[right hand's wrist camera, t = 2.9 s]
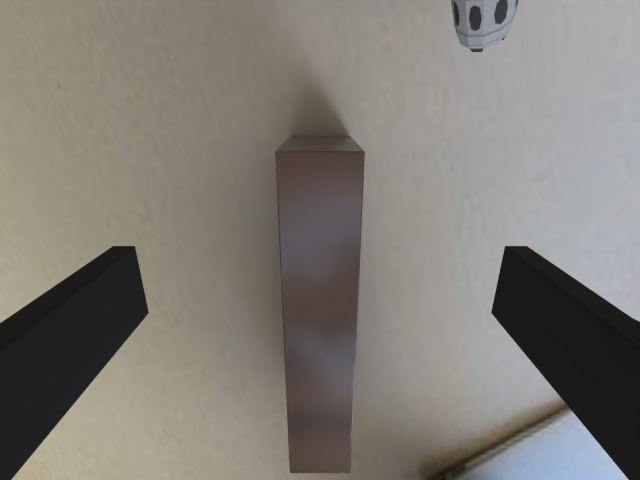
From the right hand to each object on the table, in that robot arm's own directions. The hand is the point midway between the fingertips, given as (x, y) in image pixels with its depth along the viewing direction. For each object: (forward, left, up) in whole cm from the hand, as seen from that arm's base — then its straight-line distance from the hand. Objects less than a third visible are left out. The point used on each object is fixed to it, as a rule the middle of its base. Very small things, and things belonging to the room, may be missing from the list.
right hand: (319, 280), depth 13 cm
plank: (+10, 0, -19) cm, 21 cm away
